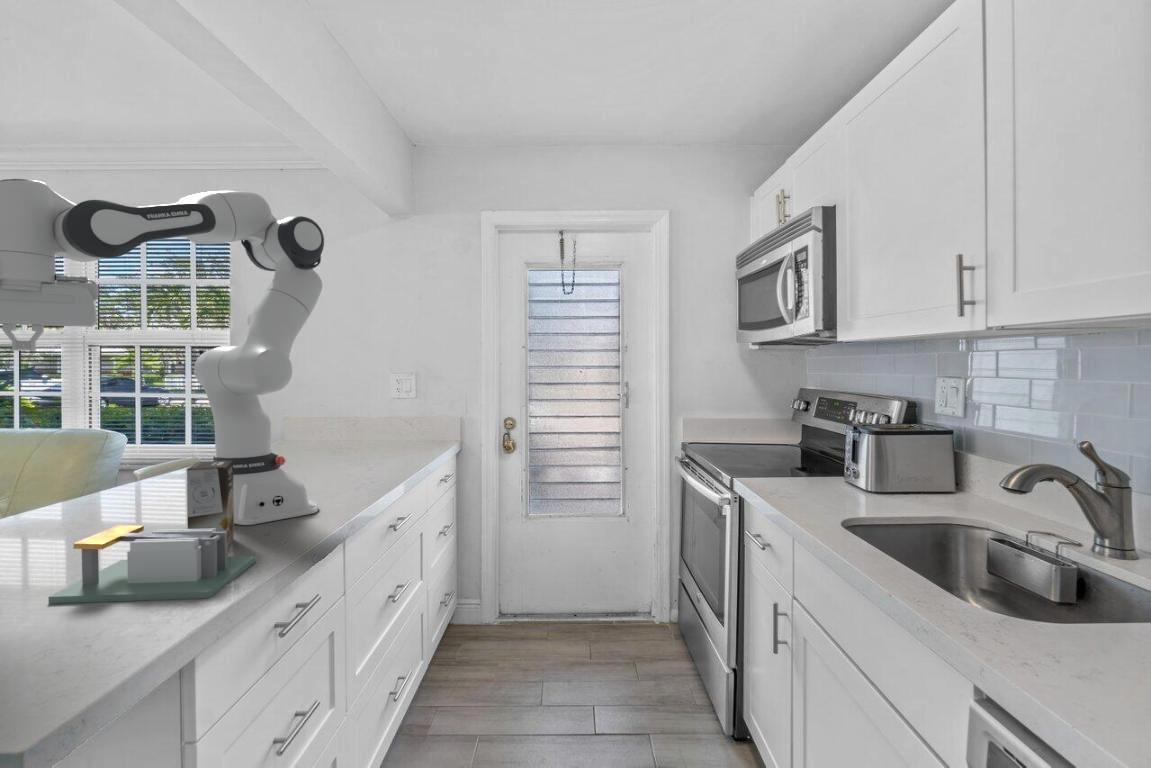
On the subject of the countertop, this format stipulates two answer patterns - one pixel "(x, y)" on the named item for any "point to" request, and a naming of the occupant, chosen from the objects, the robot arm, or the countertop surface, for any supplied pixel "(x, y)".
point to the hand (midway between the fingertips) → (24, 350)
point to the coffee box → (211, 497)
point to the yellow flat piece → (125, 537)
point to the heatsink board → (148, 590)
